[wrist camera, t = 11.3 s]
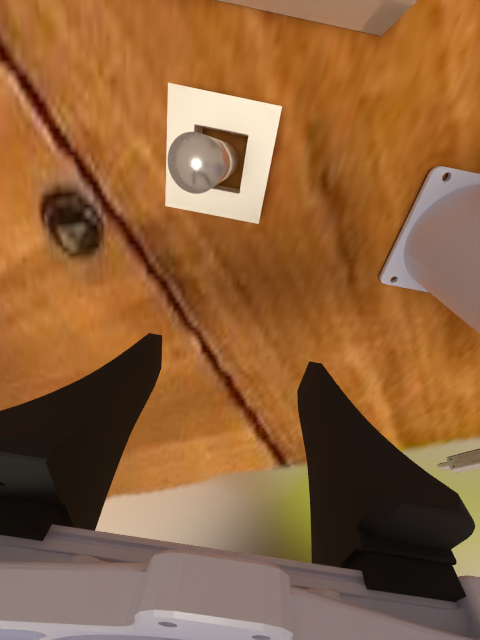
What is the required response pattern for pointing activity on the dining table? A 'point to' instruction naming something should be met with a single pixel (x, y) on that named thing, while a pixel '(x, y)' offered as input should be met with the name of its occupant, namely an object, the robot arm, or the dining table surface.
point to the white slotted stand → (338, 12)
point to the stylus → (200, 161)
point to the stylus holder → (231, 117)
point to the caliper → (462, 461)
